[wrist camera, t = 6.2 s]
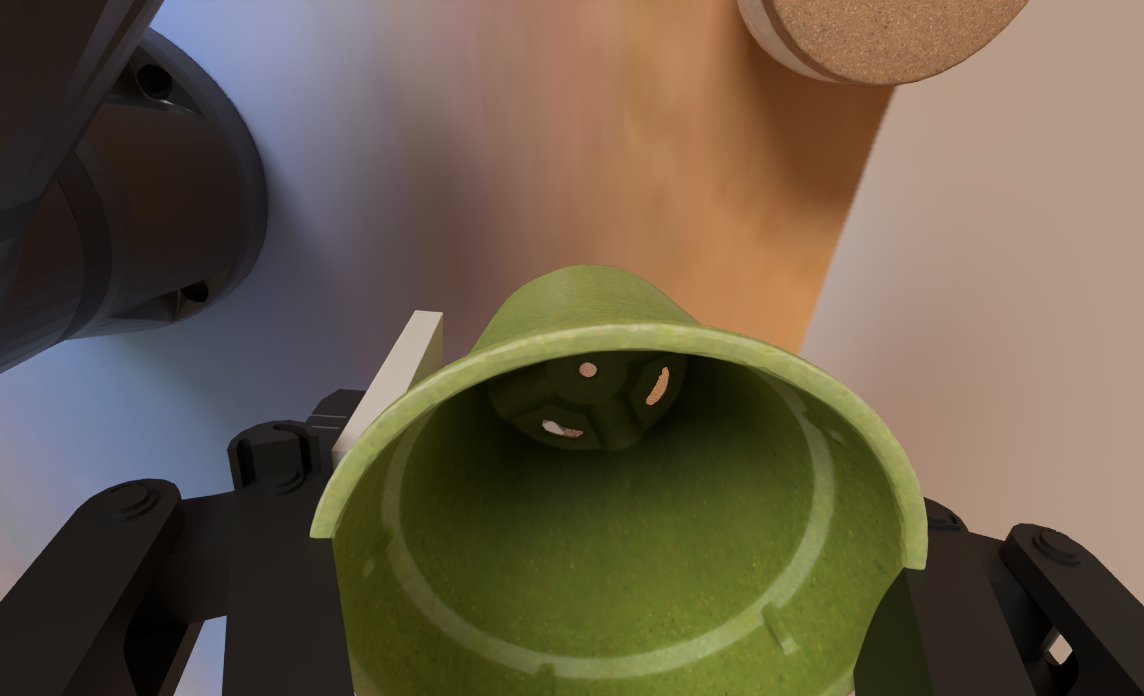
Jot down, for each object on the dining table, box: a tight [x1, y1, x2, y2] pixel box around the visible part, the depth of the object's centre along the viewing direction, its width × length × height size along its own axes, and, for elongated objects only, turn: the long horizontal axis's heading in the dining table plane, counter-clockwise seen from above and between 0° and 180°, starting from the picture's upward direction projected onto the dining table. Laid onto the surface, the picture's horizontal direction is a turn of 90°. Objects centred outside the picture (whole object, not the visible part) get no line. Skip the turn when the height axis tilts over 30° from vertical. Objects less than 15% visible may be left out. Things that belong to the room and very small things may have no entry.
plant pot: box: [310, 264, 928, 696], centre depth 12 cm, size 9×9×9 cm
